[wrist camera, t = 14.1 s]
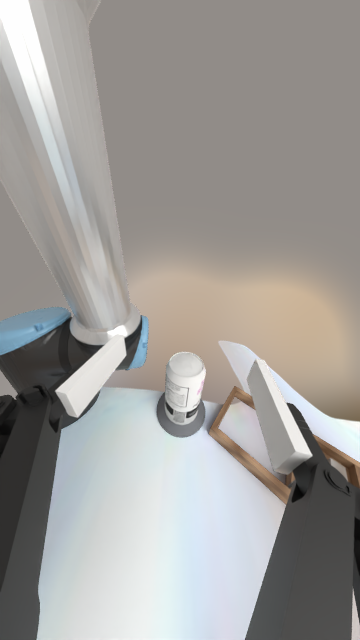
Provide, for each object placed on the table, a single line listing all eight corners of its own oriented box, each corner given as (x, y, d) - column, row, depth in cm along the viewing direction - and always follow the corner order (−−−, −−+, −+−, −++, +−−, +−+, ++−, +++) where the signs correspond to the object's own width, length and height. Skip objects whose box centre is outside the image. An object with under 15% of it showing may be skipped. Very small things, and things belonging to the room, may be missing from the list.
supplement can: (163, 395, 37) (164, 351, 30) (192, 391, 39) (199, 348, 32) (166, 430, 30) (168, 382, 23) (202, 422, 32) (213, 376, 25)
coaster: (146, 410, 34) (146, 409, 34) (178, 380, 42) (178, 379, 42) (184, 452, 27) (184, 451, 27) (213, 407, 36) (213, 406, 35)
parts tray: (208, 433, 30) (210, 427, 29) (232, 391, 40) (234, 385, 39) (379, 589, 17) (395, 589, 16) (352, 469, 27) (361, 463, 26)
